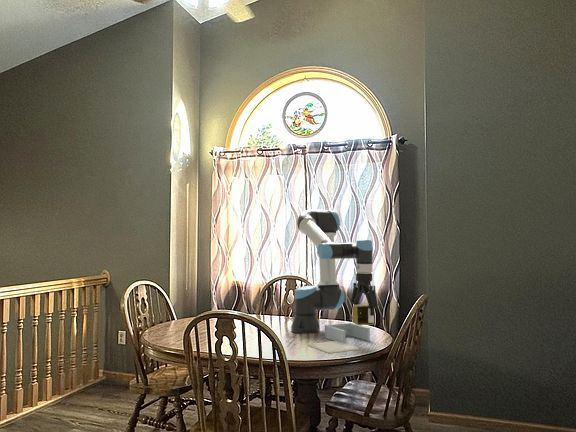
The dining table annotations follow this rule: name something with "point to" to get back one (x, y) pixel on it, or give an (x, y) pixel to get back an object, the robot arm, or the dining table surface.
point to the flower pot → (360, 315)
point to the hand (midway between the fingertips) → (363, 320)
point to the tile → (333, 347)
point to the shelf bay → (346, 332)
